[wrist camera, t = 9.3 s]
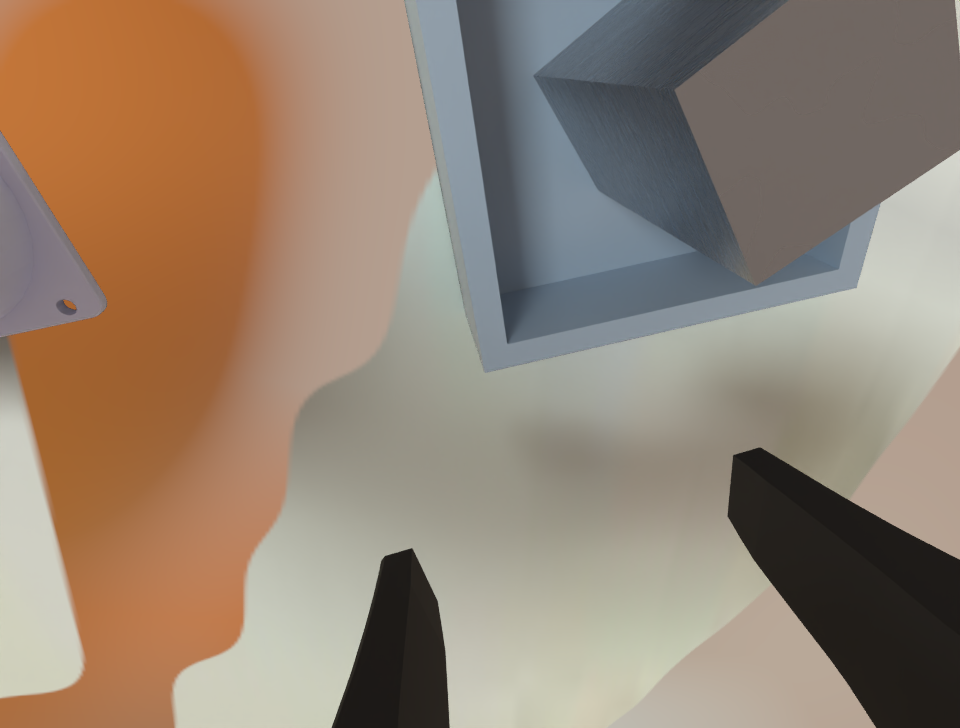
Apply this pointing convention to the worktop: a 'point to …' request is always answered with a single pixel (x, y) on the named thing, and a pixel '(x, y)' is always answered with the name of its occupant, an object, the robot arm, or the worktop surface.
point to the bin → (564, 201)
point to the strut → (759, 115)
